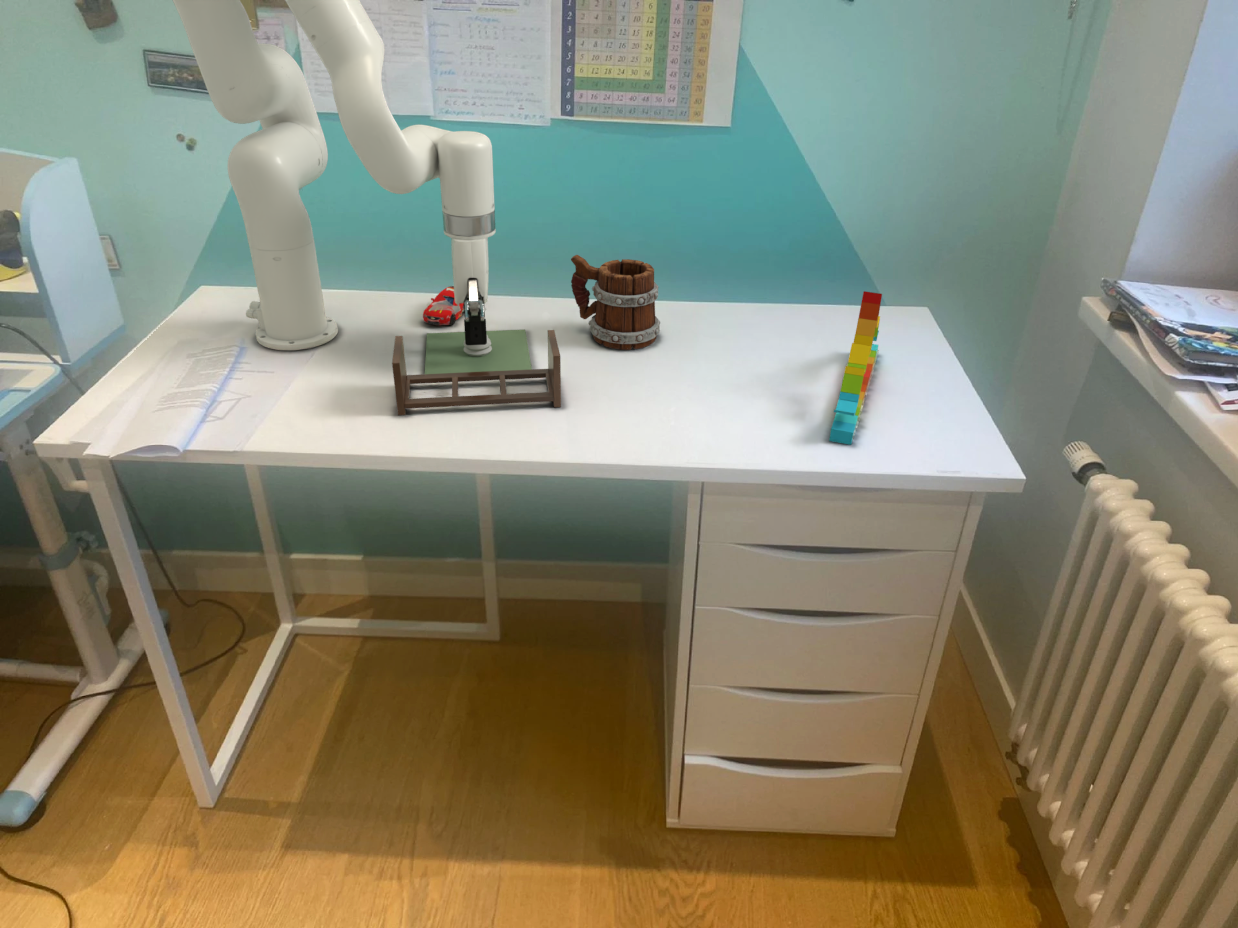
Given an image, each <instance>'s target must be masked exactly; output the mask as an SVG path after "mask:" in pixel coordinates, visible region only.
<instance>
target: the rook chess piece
mask: <svg viewBox="0 0 1238 928" xmlns="http://www.w3.org/2000/svg"><path fill="white" fill-rule="evenodd" d="M469 308H470V306H468V309H469ZM478 308H480V305H478ZM483 308H484V312H485V313H486V310H487V308H486V306H485V304H484V305H483ZM480 319H481V318H480ZM484 319H486V316H485V317H484ZM490 345H491V341H490V339H489V338H488V335H487V344H486V345H466V343H465V341H464V346H465V347H464V352H465V353H466V354H468V355H470V356H474V357H480V356H485V355H487V354H489V353H490V351H491V350H492V347H491V346H490Z"/></svg>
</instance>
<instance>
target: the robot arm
mask: <svg viewBox="0 0 1238 928" xmlns="http://www.w3.org/2000/svg"><path fill="white" fill-rule="evenodd" d="M284 1H285V3H286V4H287V6H288V8H289V10H290V11H291V12H292V15H293V16H294V18H295V19H296V21H297V23H298V24H299V26H300V28H301V29H302V31H303V32H304V34H305V36H306V37H307V39H308V41H309V42H310V44H311V45H312V47H313V49H314V51H315V52H316V54H317V55H318V56H317V57H318V58H319V59H320V61H321V62H322V64H323V65H324V67H325V69H326V71H327V72H328V75H329V78H330V81H331V89H332V94H333V99H334V102H335V107H336V111H337V115H338V118H339V121H340V125H341V126H342V130H343V132H344V134H345V136H346V138H347V140H348V143H349V144H350V146H351V147H352V149H353V151H354V152H355V154H356V156H357V157H358V159H359V161H360V162H361V164H362V165H363V167H364V168H365V170H366V171H367V173H368V174H369V175H370V176H371V178H372V179H373V180H374V181H375V182H376V183H377V185H379V186H380V187H381V188H382V189H383V190H386V191H387V192H389V193H391V194H396V195H405V194H409V193H412V192H414V191H416V190H417V189H419V188H420V187H422V186H423V185H424V184H425V183H428V182H430V181H432V180H435V179H439V184H440V186H439V187H440V197H441V212H442V226H443V227H442V228H443V235H445V236H446V237H448V238H450V240H451V241H450V242H451V244H450V246H451V248H450V249H451V265H452V266H451V267H452V278H453V279H452V283H453V286H454V296H455V303H456V304H457V305H459V303H463V302H464V314H463V315H464V319H463V325H464V326H463V327H464V332H465V343H466V345H486V344H487V333H486V331H487V319H486V311H485V312H484V308H483V305H484V306H485V304H487V302H488V299H489V275H490V274H489V271H490V270H489V268H490V267H489V263H490V262H489V239H488V238H490V237H492V236H494V235H495V234H496V232H497V230H496V229H497V228H496V211H495V210H496V208H495V207H496V205H495V185H494V181H495V179H494V161H493V160H494V159H493V144H492V141H491V139H490V137H488V136H487V135H486V134H484V133H482V132H478V131H473V130H458V131H452V130H448V129H444V128H439V127H435V126H431V125H426V124H412V125H409V126H407V127H405V128H403V129H401V127H400V126H399V124H398V123H397V121H396V120H395V118H394V116H393V114H392V112H391V110H390V108H389V105H388V103H387V102H388V101H387V99H386V96H385V93H384V89H383V81H382V80H383V79H382V75H383V67H384V60H385V49H386V47H385V43H384V40H383V39H382V37H381V35H380V34H379V32H378V31H377V29H376V27H375V25H374V23H373V21H372V20H371V18H370V17H369V14H368V12H367V11H366V9H365V8H364V6H363V4H362V2H361V1H360V0H284ZM172 2H173V4H174V6H175V9H176V11H177V13H178V15H179V17H180V20H181V23H182V25H183V28H184V31H185V33H186V36H187V39H188V42H189V45H190V47H191V51H192V53H193V55H194V58H195V61H196V63H197V66H198V69H199V72H200V74H201V76H202V79H203V82H204V85H205V88H206V90H207V92H208V93H207V94H208V95H209V98H210V100H211V102H212V104H213V106H214V108H215V109H216V111H217V113H218V114H219V115H220V116H221V117H222V118H223V119H225V120H227V121H228V122H230V123H233V124H238V125H246V124H252V123H255V122H258V121H259V123H260V126H261V129H259V130H257V131H254V132H251V133H250V134H248V135H245V136H244V137H242V138H241V139H240V140H238V141H237V142H236V143H235V144H234V146H233V147H232V148H231V150H230V153H229V155H228V159H227V176H228V179H229V182H230V184H231V188H232V190H233V192H234V195H235V198H236V200H237V202H238V205H239V208H240V212H241V216H242V220H243V224H244V229H245V233H246V239H247V243H248V248H249V252H250V256H251V263H252V268H253V273H254V279H255V284H256V289H257V295H258V299H259V301H256V300H253V301H250V303H249V308H247V310H246V311H245V316H246V318H249V319H253V320H257V321H258V327H257V328H256V330H255V338H256V341H257V343H258V344H259V345H261V346H262V347H265V348H268V349H271V350H277V351H300V350H307V349H312V348H317V347H319V346H321V345H324V344H326V343H328V342H330V341H332V340H333V339H334V338H335V337H336V336H337V335H338V332H339V328H338V323H337V322H336V320H335V319H333V318H331V317H329V316H327V315H326V308H325V302H324V296H323V287H322V281H321V275H320V269H319V262H318V257H317V249H316V243H315V242H316V241H315V238H314V231H313V226H312V223H311V218H310V215H309V213H308V210H307V208H306V205H305V203H304V202H303V200H302V197H301V194H300V190H301V189H303V188H304V187H306V186H308V185H310V184H312V183H313V182H315V181H317V180H318V179H319V178H320V177H321V176H322V175H323V174H324V172H325V170H326V168H327V165H328V161H329V152H328V145H327V141H326V137H325V134H324V131H323V128H322V125H321V121H320V119H319V115H318V113H317V109H316V106H315V103H314V100H313V97H312V94H311V91H310V88H309V85H308V82H307V80H306V77H305V75H304V72H303V71H302V69H301V67H300V65H299V64H298V63H297V61H296V60H295V59H294V58H293V56H292V55H291V54H290V53H289V52H287V51H286V50H284V49H283V48H282V47H280V46H278V45H274V44H272V43H258V40H257V38H256V35H255V32H254V30H253V27H252V24H251V20H250V17H249V14H248V13H247V10H246V8H245V6H244V5H243V3H242V1H241V0H172ZM478 305H480V308H478ZM468 306H470V308H469V309H468ZM484 317H485V319H484ZM480 318H481V319H480Z"/></svg>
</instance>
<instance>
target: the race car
mask: <svg viewBox="0 0 1238 928" xmlns="http://www.w3.org/2000/svg"><path fill="white" fill-rule="evenodd" d="M430 300H431V303H430V304H429V305H427V307H426V308H425V309H424V310H423V312H422V320H423V321H424V323H426V324H429V325H434V326H454V324H455V322H456V321H457V320H458V319H459V318H461V317H462V316H463V315H464V302H463V303H459V305H457V304H456V303H455V296H454V285H450V286H449V285H448V286H447V287H445V288H444V289H442V290H441V291H439V293H437V295H436V296H435V297H434V298H433V297H431V298H430Z"/></svg>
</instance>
